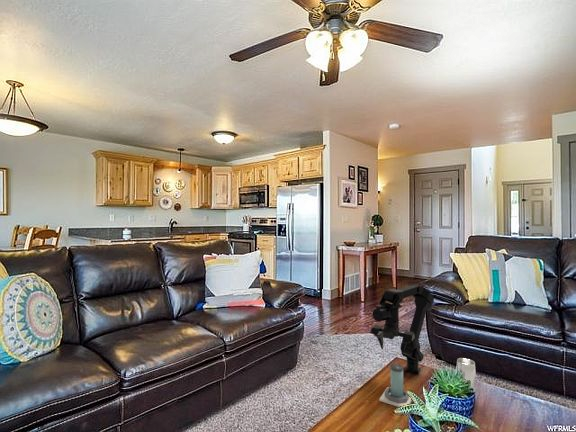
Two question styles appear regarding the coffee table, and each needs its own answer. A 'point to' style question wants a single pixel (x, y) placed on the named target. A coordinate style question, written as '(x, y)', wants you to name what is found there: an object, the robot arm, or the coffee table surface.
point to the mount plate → (395, 401)
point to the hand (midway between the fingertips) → (392, 351)
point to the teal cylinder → (397, 381)
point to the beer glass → (467, 369)
